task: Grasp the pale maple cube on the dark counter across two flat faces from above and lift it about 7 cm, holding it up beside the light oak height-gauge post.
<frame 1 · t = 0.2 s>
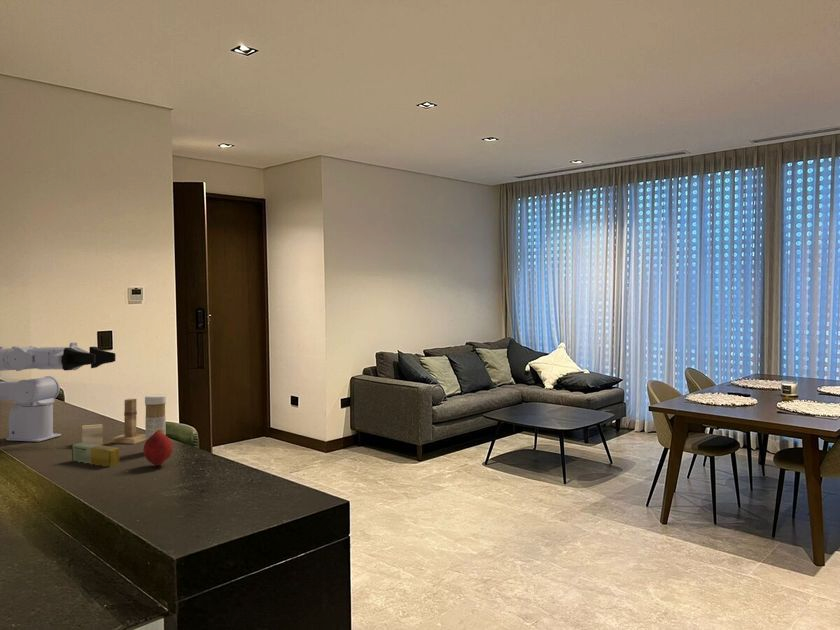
hand: (105, 358, 159), 21 cm above the table, tool horizontal, fingers open, 7 cm apart
sprinkles bottle: (155, 452, 148), on the table
cube: (92, 444, 156), on the table
medication box: (95, 464, 138), on the table
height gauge: (130, 440, 160), on the table
onion: (158, 467, 135), on the table
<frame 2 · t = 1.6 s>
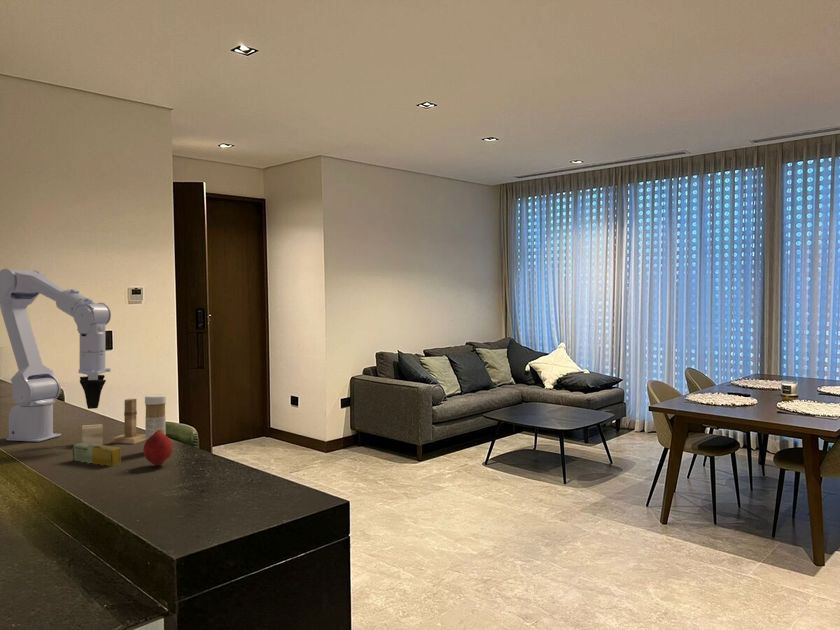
hand: (92, 406, 156), 9 cm above the table, tool pointing down, fingers open, 7 cm apart
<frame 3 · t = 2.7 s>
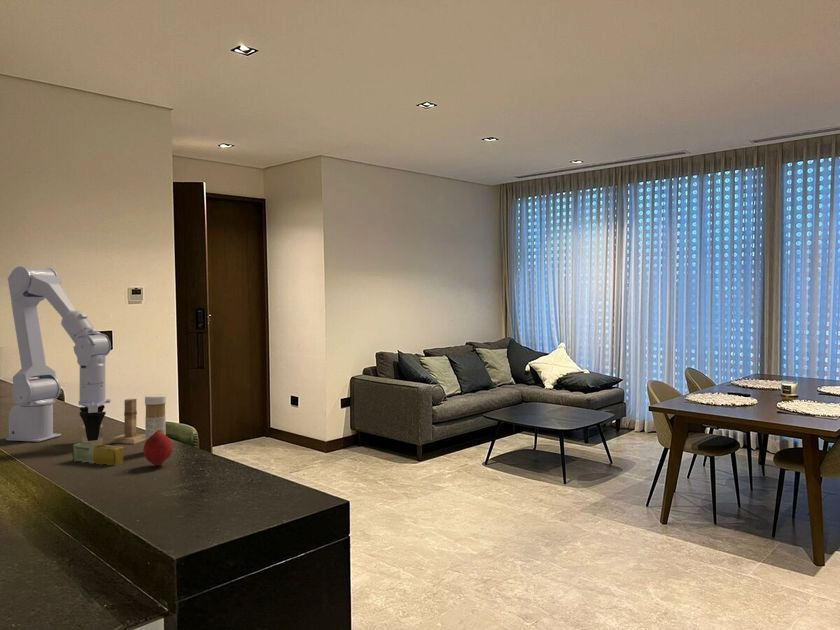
hand: (92, 437, 156), 2 cm above the table, tool pointing down, fingers open, 7 cm apart
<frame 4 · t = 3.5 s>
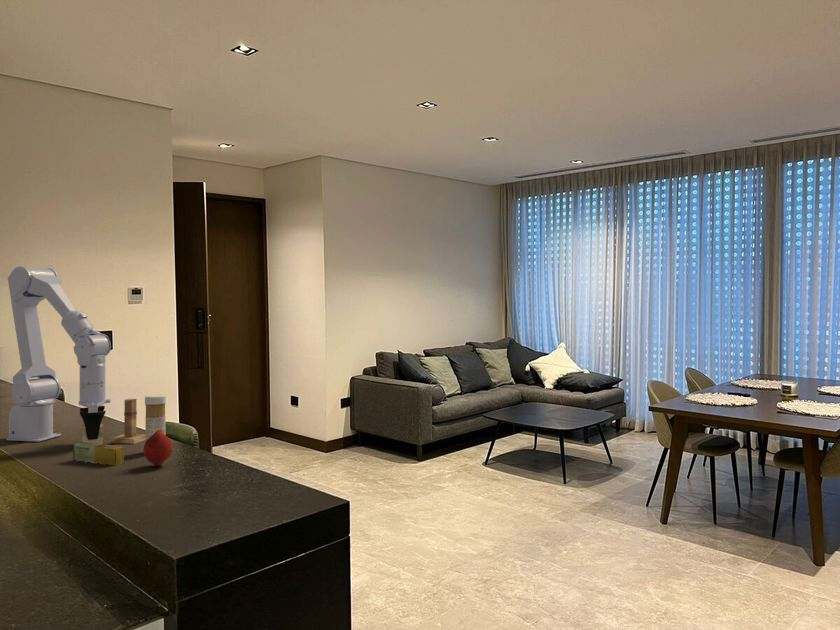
hand: (92, 437, 156), 2 cm above the table, tool pointing down, fingers closed on cube, 4 cm apart
cube: (92, 444, 156), on the table, touching gripper
everything else where it was.
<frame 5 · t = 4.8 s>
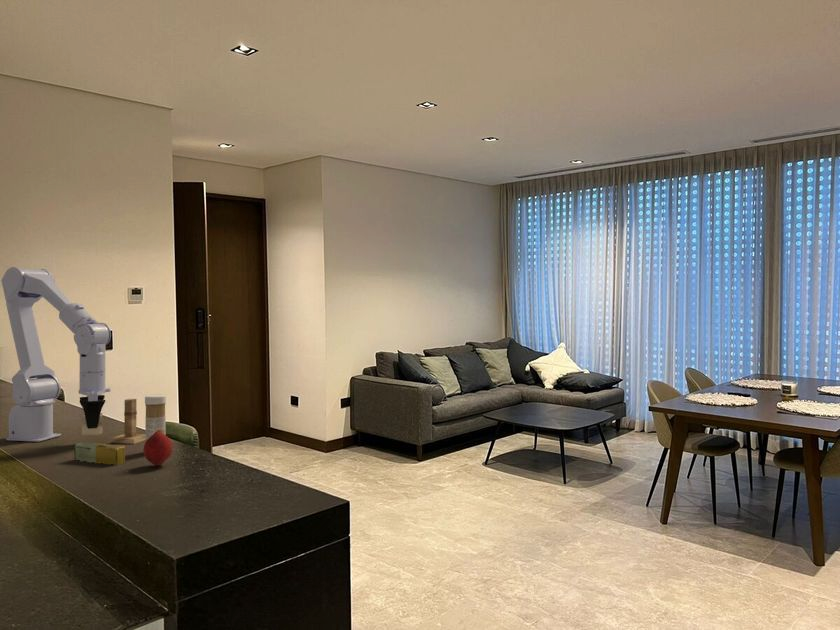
hand: (92, 426, 156), 4 cm above the table, tool pointing down, fingers closed on cube, 4 cm apart
cube: (92, 433, 156), point 3 cm above the table, touching gripper
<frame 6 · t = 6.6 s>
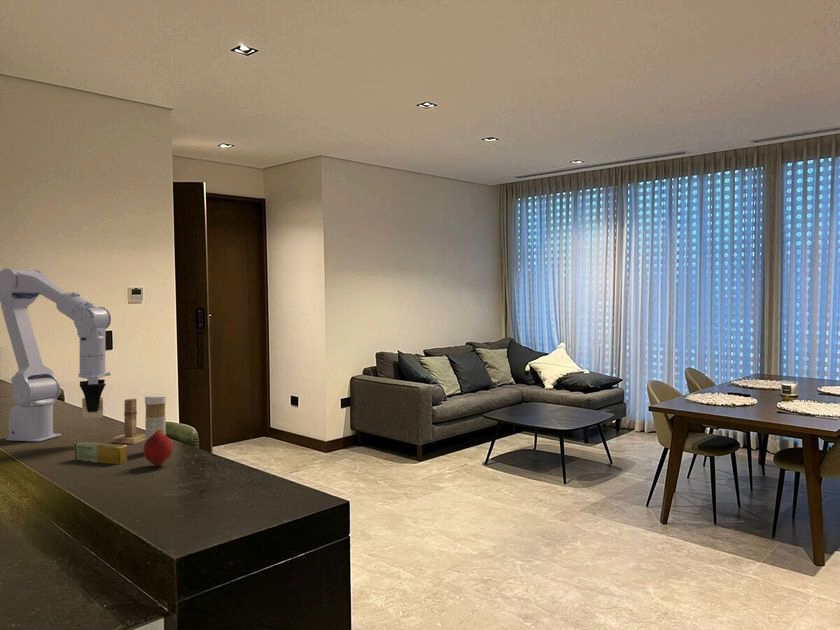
hand: (92, 410, 156), 8 cm above the table, tool pointing down, fingers closed on cube, 4 cm apart
cube: (92, 416, 156), point 7 cm above the table, touching gripper
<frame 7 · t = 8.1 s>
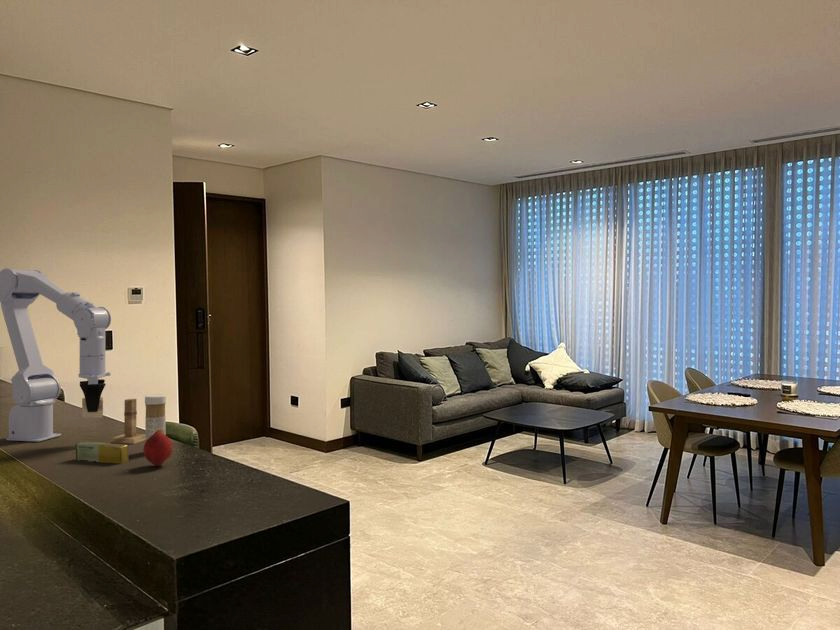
hand: (92, 410, 156), 8 cm above the table, tool pointing down, fingers closed on cube, 4 cm apart
cube: (92, 416, 156), point 7 cm above the table, touching gripper
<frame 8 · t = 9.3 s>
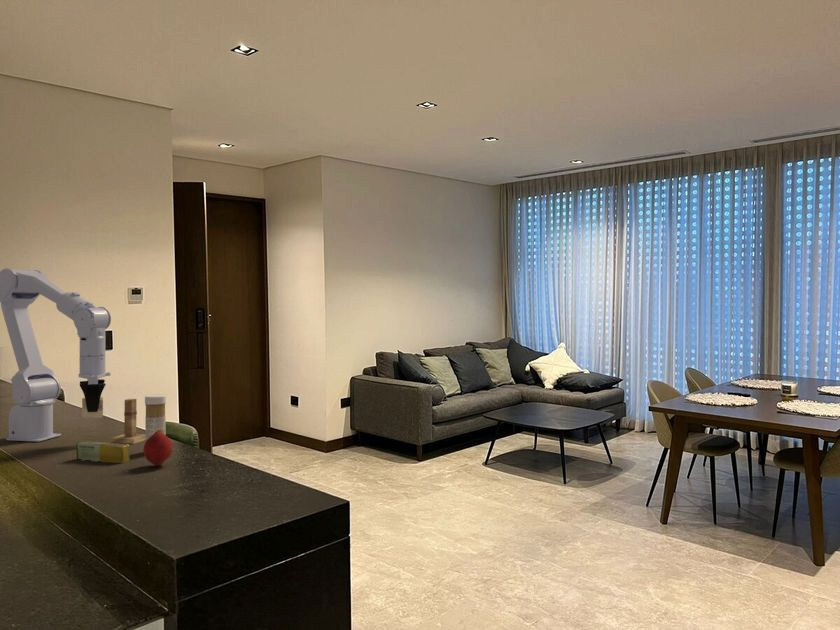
hand: (92, 410, 156), 8 cm above the table, tool pointing down, fingers closed on cube, 4 cm apart
cube: (92, 416, 156), point 7 cm above the table, touching gripper
at the end: cube point 6.8 cm above the table; the gripper is holding cube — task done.
